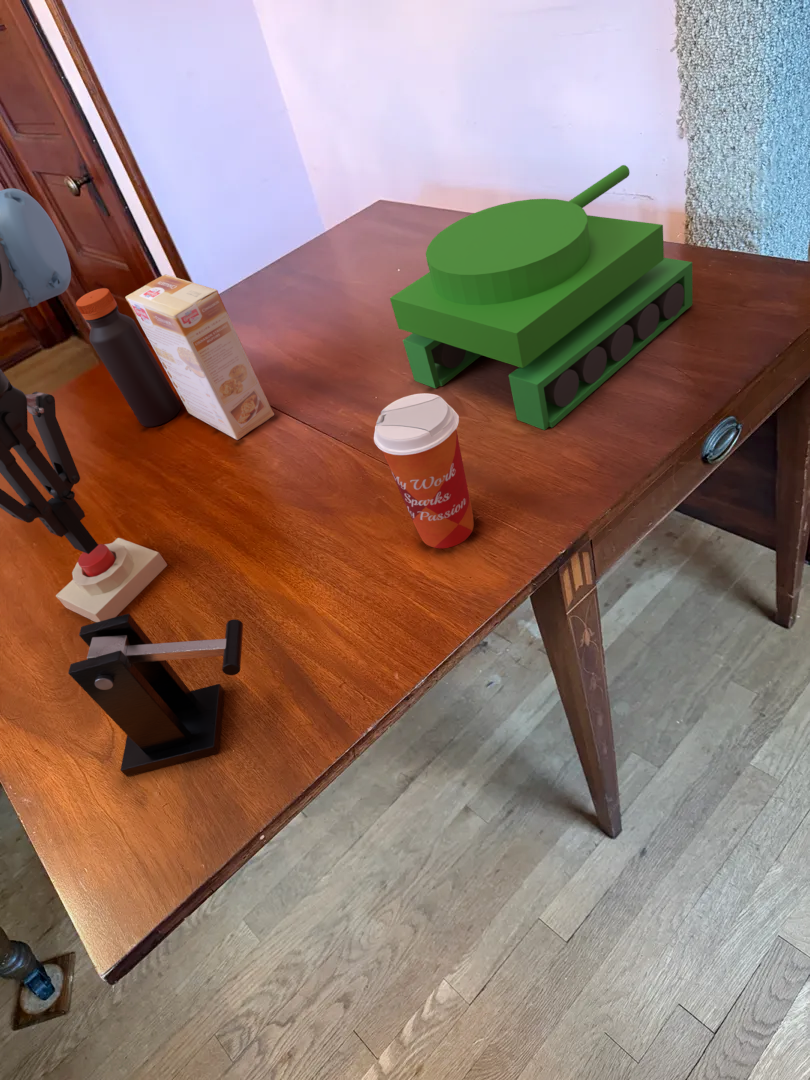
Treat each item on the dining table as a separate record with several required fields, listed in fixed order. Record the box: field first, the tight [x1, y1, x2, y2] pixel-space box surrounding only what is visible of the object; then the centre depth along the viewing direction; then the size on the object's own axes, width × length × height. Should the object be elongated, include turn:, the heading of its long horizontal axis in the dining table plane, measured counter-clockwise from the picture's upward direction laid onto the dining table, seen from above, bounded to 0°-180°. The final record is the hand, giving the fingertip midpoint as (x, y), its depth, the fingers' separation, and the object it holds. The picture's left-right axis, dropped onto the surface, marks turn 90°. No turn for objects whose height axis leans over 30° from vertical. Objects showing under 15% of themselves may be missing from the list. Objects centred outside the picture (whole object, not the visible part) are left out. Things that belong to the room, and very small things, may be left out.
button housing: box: [55, 537, 168, 623], centre depth 87 cm, size 10×8×4 cm
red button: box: [77, 543, 115, 577], centre depth 85 cm, size 4×4×2 cm
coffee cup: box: [373, 392, 475, 549], centre depth 75 cm, size 8×8×15 cm
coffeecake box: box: [125, 274, 275, 441], centre depth 104 cm, size 15×7×20 cm, turn 42°
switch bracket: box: [67, 613, 225, 778], centre depth 65 cm, size 9×7×14 cm
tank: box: [389, 164, 694, 431], centre depth 96 cm, size 24×35×16 cm
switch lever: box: [86, 619, 244, 676], centre depth 62 cm, size 12×5×2 cm, turn 97°
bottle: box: [75, 287, 181, 428], centre depth 109 cm, size 7×7×20 cm
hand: (86, 546), depth 84 cm, fingers closed
